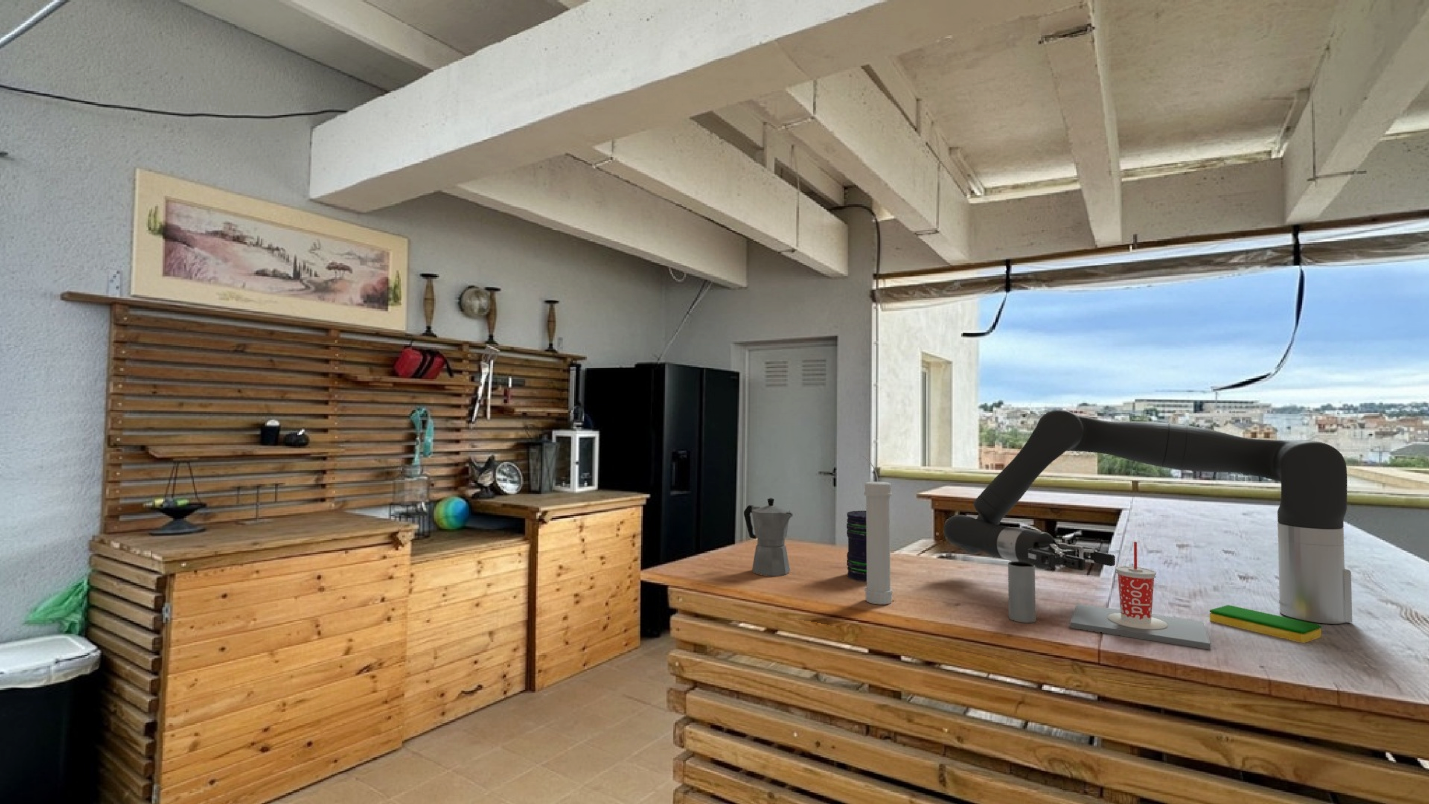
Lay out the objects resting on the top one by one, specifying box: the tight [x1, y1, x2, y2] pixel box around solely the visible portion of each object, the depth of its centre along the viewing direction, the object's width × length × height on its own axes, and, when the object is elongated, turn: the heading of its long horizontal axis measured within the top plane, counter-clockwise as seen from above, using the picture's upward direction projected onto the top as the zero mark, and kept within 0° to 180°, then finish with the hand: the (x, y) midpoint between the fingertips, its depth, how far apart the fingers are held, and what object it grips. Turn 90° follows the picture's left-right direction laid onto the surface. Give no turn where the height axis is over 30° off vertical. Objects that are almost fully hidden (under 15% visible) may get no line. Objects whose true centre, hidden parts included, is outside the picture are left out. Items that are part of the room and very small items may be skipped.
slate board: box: [1069, 603, 1212, 651], centre depth 117 cm, size 20×14×1 cm
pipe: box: [860, 454, 893, 606], centre depth 133 cm, size 6×6×30 cm
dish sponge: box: [1209, 604, 1322, 644], centre depth 116 cm, size 7×14×2 cm, turn 29°
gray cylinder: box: [1007, 561, 1037, 624], centre depth 121 cm, size 4×4×10 cm
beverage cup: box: [1115, 541, 1157, 624], centre depth 117 cm, size 6×6×14 cm
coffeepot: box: [743, 497, 793, 577], centre depth 160 cm, size 15×9×18 cm, turn 44°
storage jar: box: [846, 510, 867, 583], centre depth 154 cm, size 10×10×15 cm
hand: (1099, 562), depth 123 cm, fingers open, 8 cm apart
